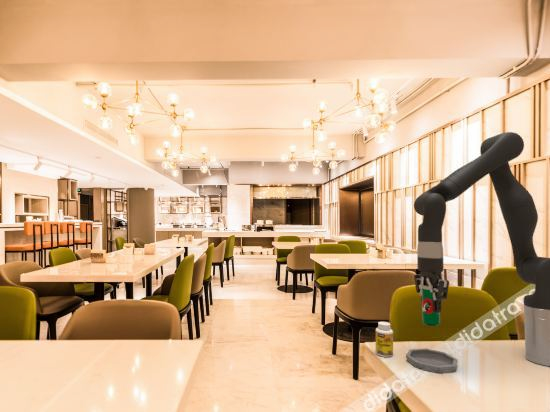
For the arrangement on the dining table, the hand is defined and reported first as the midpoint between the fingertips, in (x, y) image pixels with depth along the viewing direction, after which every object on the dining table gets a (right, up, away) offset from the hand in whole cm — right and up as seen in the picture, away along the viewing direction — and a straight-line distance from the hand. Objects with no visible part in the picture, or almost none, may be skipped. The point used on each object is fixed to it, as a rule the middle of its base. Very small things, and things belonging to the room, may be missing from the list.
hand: (430, 309), depth 104 cm
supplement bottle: (-13, -17, +6) cm, 22 cm away
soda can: (0, -5, 0) cm, 5 cm away
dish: (0, -16, -1) cm, 16 cm away
